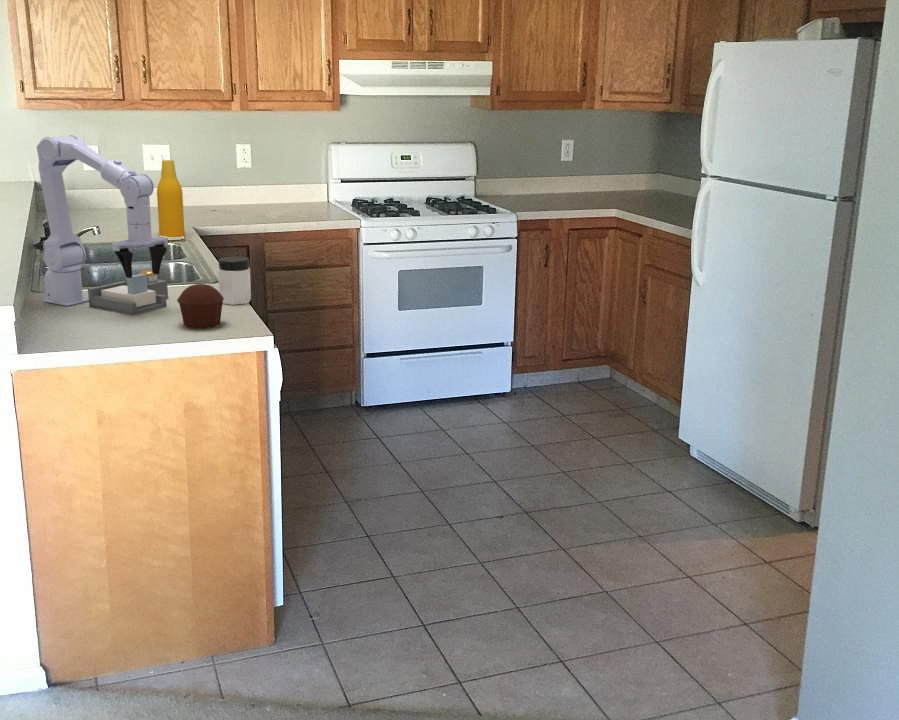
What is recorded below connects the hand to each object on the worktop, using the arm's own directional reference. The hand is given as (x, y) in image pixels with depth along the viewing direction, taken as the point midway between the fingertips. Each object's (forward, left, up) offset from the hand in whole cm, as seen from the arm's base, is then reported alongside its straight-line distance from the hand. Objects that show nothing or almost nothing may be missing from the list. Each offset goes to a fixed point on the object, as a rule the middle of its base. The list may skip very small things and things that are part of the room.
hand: (142, 275), depth 252 cm
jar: (+11, +23, -10) cm, 27 cm away
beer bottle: (-77, +88, -10) cm, 118 cm away
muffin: (+21, -1, -10) cm, 23 cm away
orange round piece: (-10, +12, -6) cm, 17 cm away
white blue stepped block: (-8, +2, -8) cm, 12 cm away
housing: (-8, +6, -10) cm, 14 cm away
